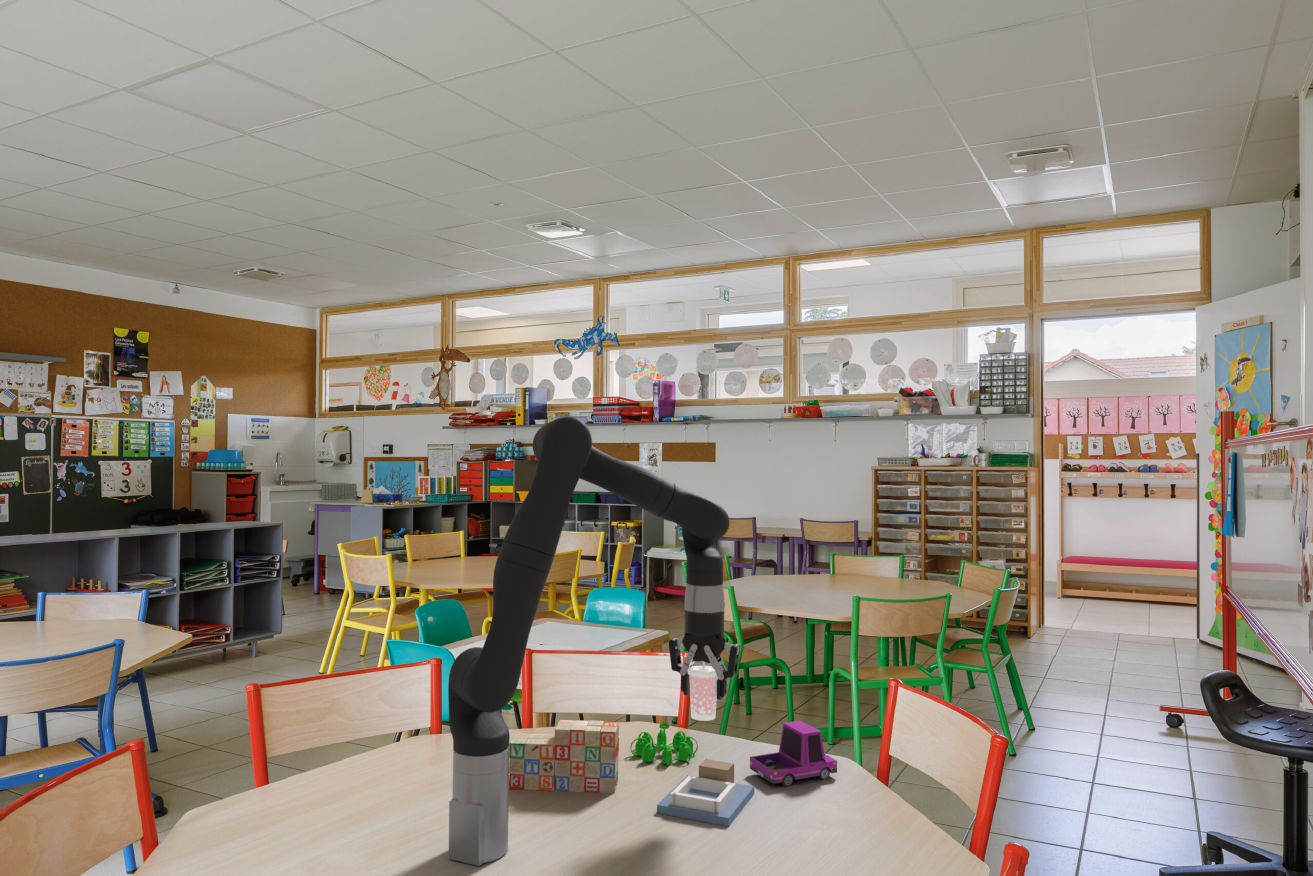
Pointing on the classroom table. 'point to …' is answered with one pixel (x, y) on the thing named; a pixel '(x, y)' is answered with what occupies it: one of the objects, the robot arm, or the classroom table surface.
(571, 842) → the classroom table surface
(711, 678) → the beverage cup
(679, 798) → the blue square tray
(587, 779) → the stack of blocks
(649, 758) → the chandelier
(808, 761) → the toy truck
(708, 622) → the robot arm
